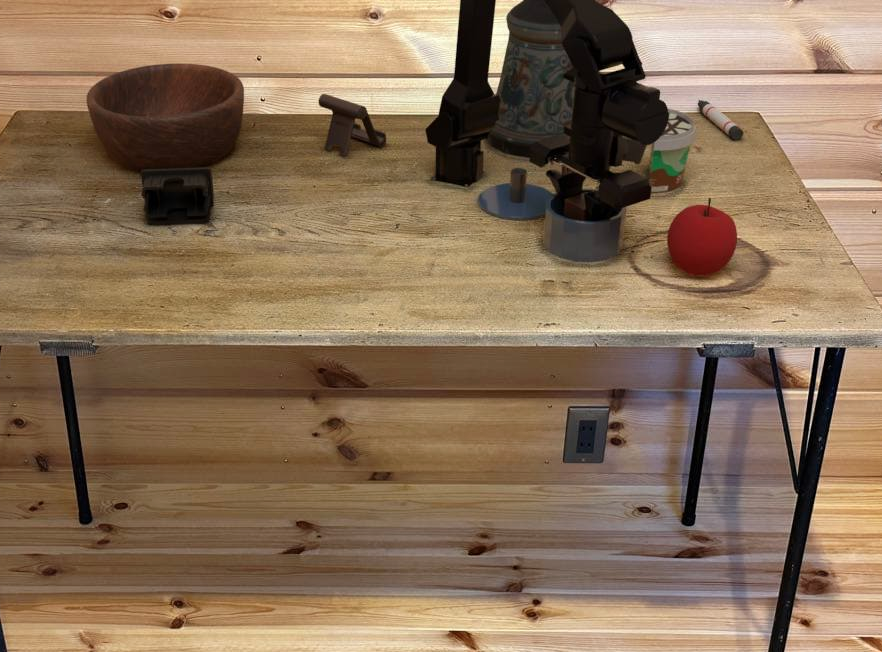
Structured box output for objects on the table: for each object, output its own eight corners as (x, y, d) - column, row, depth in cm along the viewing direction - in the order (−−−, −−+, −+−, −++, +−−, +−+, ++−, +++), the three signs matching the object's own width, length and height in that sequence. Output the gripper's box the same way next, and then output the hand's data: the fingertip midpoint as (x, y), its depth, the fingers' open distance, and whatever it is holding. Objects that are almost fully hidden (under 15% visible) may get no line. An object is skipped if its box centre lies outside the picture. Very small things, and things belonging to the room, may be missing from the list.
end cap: (215, 202, 179) (210, 160, 175) (212, 223, 173) (207, 180, 169) (148, 204, 179) (142, 162, 175) (143, 226, 173) (137, 183, 169)
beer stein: (465, 145, 195) (469, -10, 181) (532, 110, 207) (541, -38, 192) (549, 171, 186) (561, 11, 172) (614, 133, 198) (630, -20, 184)
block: (561, 232, 165) (564, 198, 162) (584, 225, 167) (587, 191, 164) (580, 244, 162) (583, 209, 159) (603, 236, 164) (606, 202, 161)
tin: (531, 255, 164) (534, 213, 160) (559, 223, 171) (562, 182, 168) (606, 272, 160) (611, 229, 156) (631, 238, 167) (636, 197, 164)
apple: (648, 262, 162) (657, 195, 156) (699, 246, 165) (709, 179, 159) (694, 291, 155) (705, 222, 149) (746, 274, 159) (759, 205, 153)
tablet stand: (387, 145, 195) (386, 96, 191) (355, 160, 191) (353, 110, 186) (348, 132, 200) (346, 84, 195) (315, 146, 195) (313, 97, 191)
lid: (465, 214, 174) (466, 179, 171) (496, 184, 183) (497, 149, 179) (539, 230, 170) (541, 194, 167) (567, 198, 178) (570, 163, 175)
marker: (742, 139, 195) (744, 128, 194) (731, 141, 195) (733, 129, 193) (702, 106, 207) (704, 95, 206) (692, 107, 207) (693, 96, 206)
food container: (689, 203, 176) (698, 139, 170) (647, 200, 177) (655, 137, 171) (688, 169, 186) (697, 108, 180) (648, 166, 187) (656, 105, 181)
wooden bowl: (99, 189, 183) (88, 126, 177) (92, 129, 203) (82, 70, 197) (259, 171, 188) (254, 109, 182) (237, 114, 208) (232, 56, 202)
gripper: (689, 129, 152) (674, 238, 161) (593, 85, 165) (584, 189, 174) (624, 149, 147) (611, 260, 156) (530, 103, 160) (523, 208, 169)
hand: (583, 227), depth 164 cm, fingers closed on block, 4 cm apart
